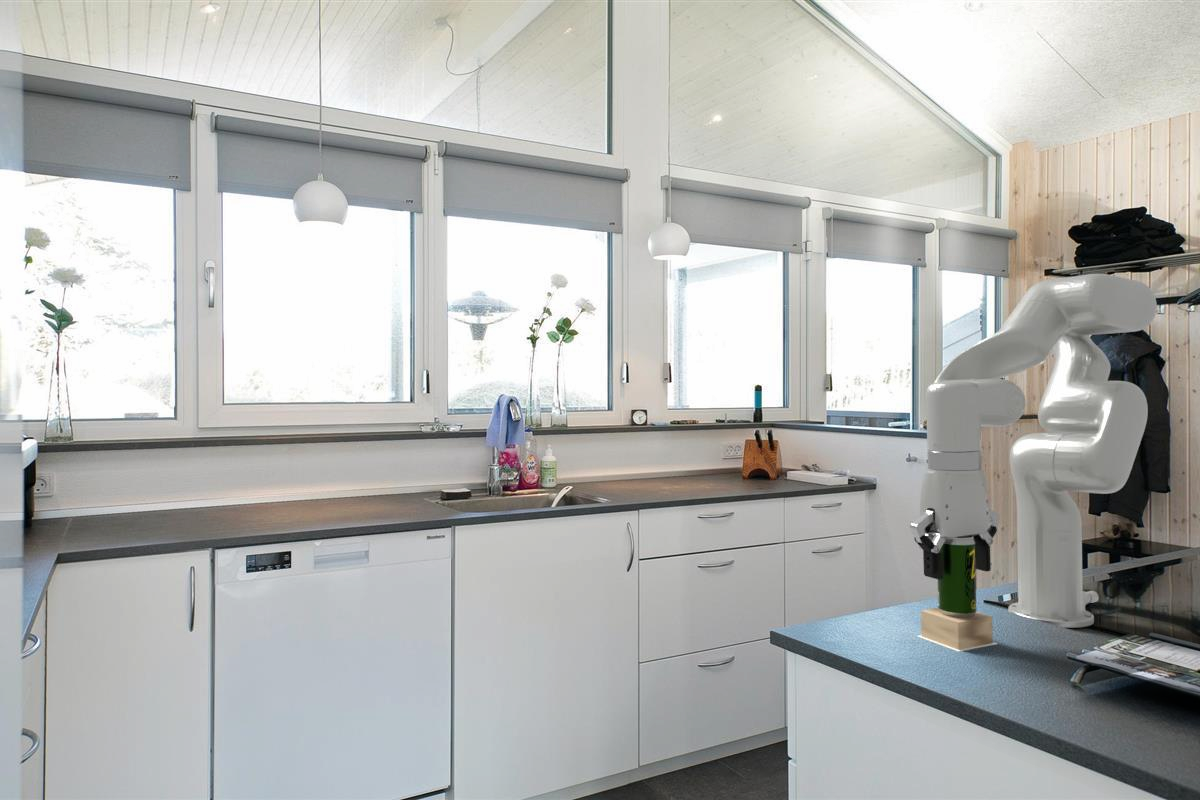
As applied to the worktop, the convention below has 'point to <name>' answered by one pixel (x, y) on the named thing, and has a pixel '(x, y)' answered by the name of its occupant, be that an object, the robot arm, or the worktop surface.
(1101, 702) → the worktop surface
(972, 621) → the oak block
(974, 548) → the beer can
